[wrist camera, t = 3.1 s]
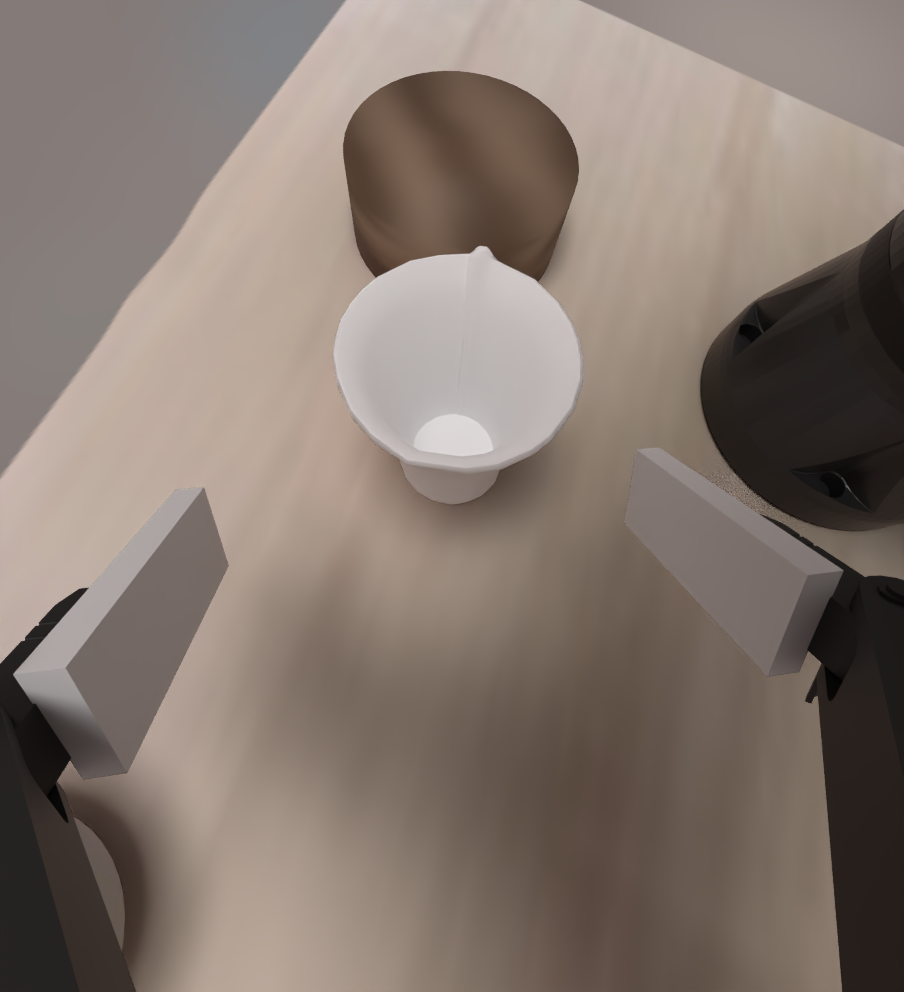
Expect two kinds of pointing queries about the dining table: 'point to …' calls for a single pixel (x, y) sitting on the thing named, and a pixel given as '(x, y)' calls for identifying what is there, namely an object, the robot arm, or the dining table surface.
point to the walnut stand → (457, 172)
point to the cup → (457, 369)
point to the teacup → (105, 878)
